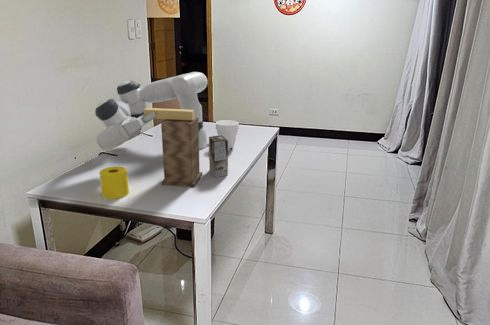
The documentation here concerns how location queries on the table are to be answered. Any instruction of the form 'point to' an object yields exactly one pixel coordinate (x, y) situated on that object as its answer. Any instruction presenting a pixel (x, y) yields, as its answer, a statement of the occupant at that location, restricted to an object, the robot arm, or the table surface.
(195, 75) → the robot arm
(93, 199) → the table surface
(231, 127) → the cup
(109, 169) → the yellow toilet paper roll
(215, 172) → the coffee box
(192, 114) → the bar
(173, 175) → the stand
